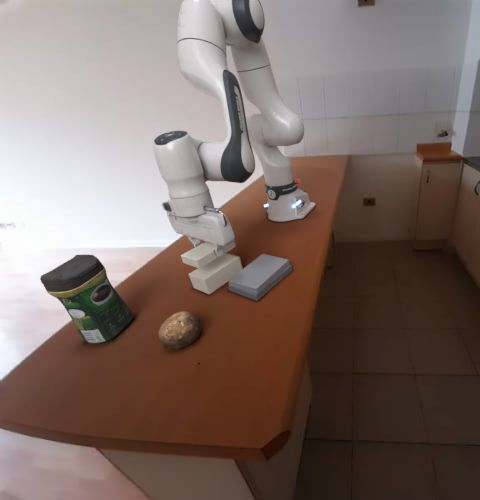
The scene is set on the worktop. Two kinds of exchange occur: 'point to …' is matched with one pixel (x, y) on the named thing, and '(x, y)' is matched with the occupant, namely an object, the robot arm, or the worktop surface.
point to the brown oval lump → (179, 330)
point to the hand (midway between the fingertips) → (209, 252)
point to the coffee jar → (88, 298)
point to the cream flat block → (203, 254)
